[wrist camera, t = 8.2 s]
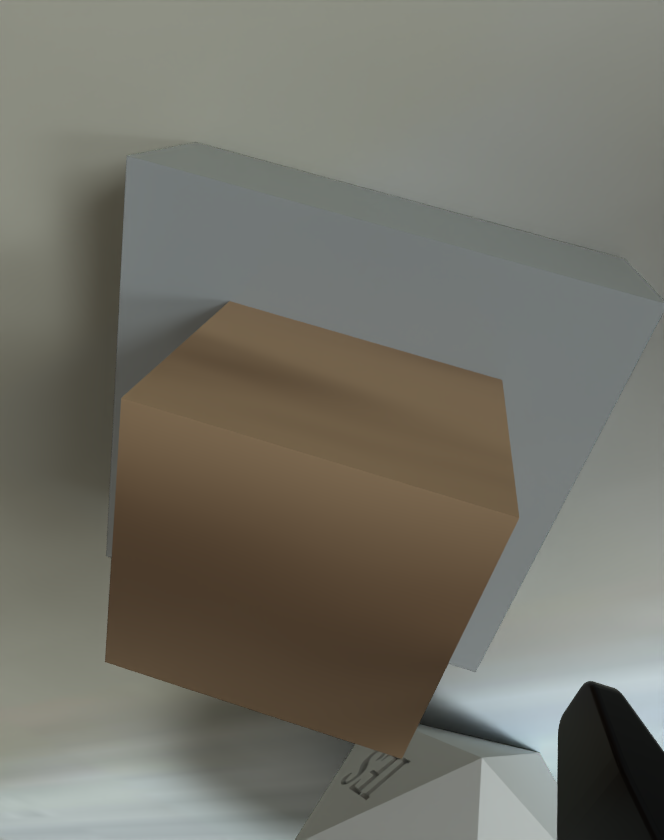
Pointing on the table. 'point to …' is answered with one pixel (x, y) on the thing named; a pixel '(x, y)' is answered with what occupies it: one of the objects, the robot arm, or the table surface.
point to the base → (389, 309)
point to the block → (306, 523)
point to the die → (438, 793)
